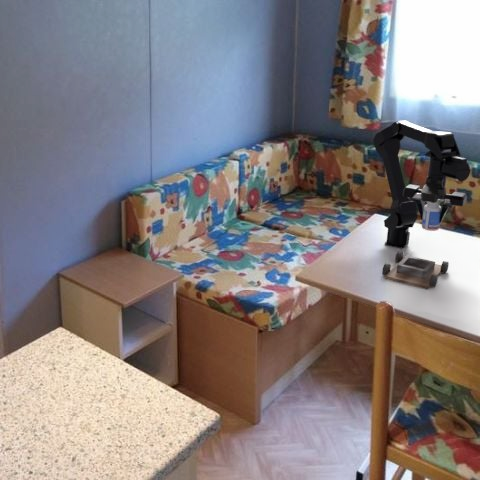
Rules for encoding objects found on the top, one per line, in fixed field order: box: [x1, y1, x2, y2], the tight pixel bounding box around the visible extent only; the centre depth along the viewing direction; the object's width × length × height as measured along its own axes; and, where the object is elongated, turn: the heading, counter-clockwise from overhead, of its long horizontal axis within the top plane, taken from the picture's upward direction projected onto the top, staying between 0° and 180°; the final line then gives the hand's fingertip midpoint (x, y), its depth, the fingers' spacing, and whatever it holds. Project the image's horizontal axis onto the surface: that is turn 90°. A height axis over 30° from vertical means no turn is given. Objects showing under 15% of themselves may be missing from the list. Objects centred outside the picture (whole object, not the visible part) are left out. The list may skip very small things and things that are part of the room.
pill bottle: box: [421, 199, 442, 232], centre depth 213 cm, size 6×5×10 cm
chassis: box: [381, 250, 450, 290], centre depth 207 cm, size 16×18×4 cm
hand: (431, 220), depth 214 cm, fingers closed on pill bottle, 5 cm apart
